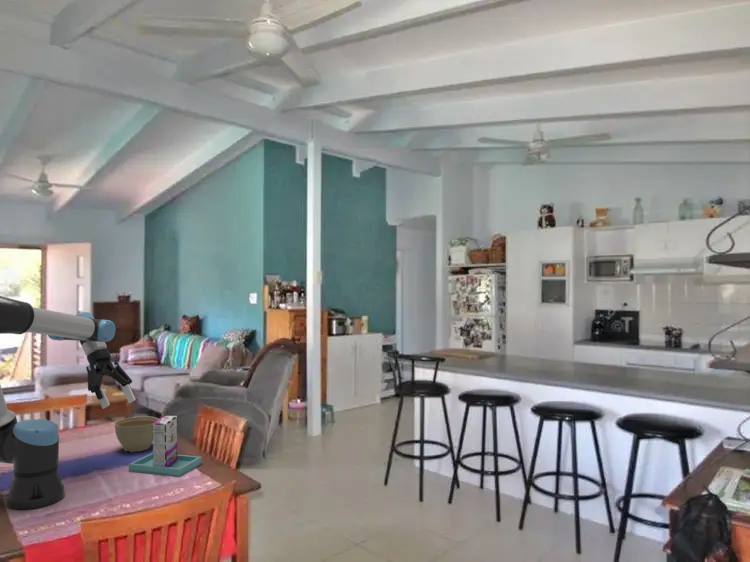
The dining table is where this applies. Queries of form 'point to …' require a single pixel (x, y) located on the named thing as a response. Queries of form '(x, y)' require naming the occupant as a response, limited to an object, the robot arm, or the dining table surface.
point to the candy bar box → (165, 441)
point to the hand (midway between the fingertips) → (119, 404)
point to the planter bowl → (135, 433)
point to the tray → (176, 469)
